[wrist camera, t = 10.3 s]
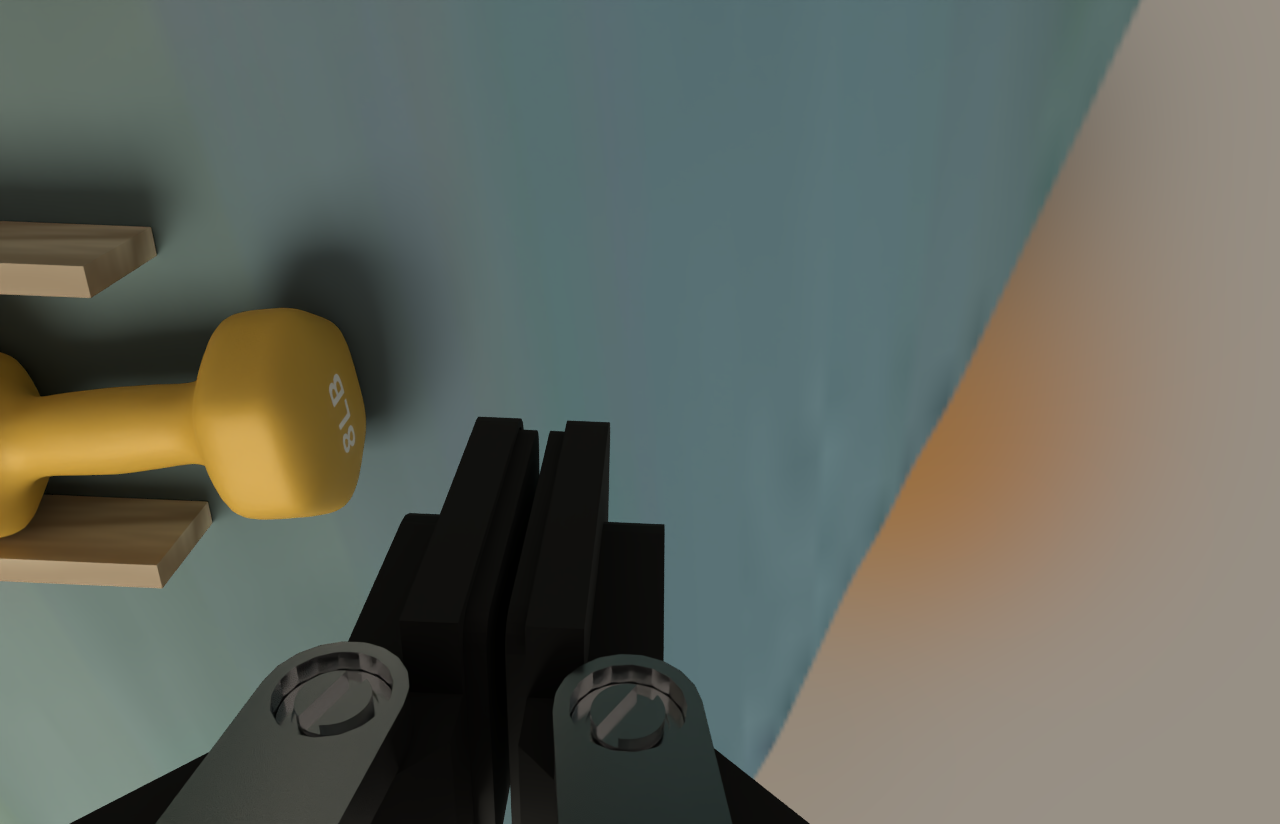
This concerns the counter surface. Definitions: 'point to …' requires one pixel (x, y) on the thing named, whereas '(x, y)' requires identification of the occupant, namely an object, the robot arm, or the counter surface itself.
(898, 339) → the counter surface
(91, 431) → the dumbbell
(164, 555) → the display bracket
